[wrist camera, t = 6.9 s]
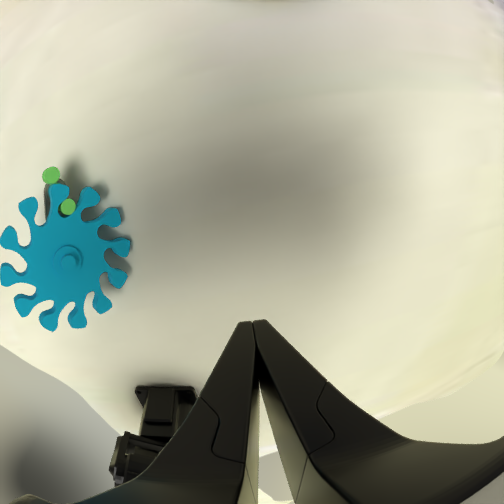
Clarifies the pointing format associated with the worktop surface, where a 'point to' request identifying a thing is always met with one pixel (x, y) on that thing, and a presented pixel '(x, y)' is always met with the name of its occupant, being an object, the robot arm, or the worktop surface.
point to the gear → (63, 254)
